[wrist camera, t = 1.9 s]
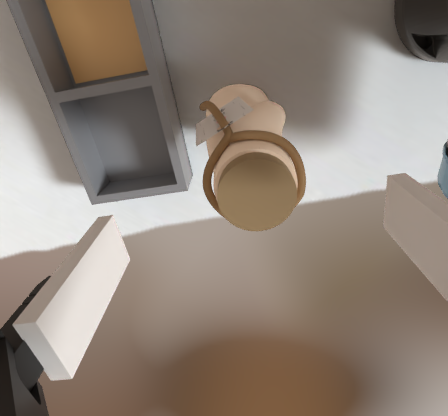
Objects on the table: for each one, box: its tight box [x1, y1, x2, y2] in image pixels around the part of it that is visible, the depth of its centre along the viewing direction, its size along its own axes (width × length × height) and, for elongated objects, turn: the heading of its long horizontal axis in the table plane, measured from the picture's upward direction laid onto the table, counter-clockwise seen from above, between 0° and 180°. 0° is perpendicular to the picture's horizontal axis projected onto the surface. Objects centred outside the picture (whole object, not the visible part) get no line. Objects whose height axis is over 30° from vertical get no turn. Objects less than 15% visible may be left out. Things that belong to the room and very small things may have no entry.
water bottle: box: [196, 84, 306, 231], centre depth 30 cm, size 10×9×28 cm
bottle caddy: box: [6, 0, 193, 205], centre depth 39 cm, size 14×30×6 cm, turn 10°
